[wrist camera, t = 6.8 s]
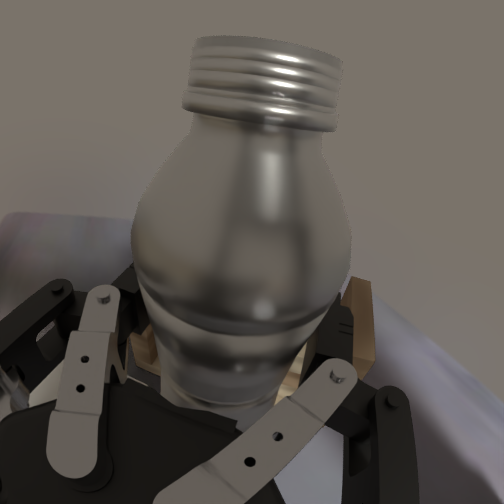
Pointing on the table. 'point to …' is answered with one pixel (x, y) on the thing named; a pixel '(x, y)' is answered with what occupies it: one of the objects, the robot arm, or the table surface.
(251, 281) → the plastic bottle
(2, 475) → the robot arm
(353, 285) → the offcut rack
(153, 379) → the table surface
